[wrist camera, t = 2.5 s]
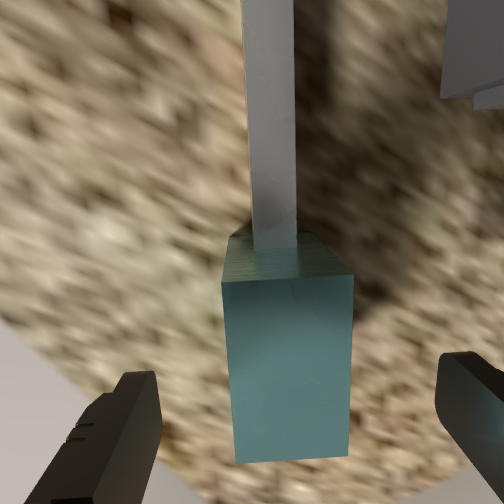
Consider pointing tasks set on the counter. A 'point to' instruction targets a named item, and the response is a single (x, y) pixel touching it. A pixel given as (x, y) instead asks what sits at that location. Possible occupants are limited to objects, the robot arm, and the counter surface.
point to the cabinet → (474, 53)
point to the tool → (282, 278)
